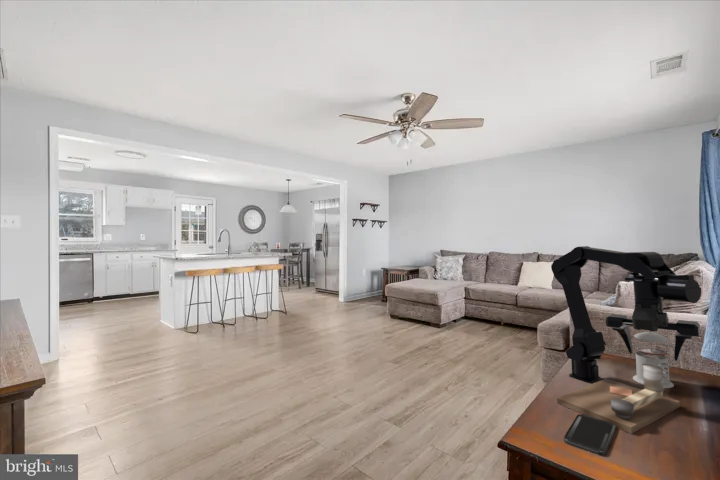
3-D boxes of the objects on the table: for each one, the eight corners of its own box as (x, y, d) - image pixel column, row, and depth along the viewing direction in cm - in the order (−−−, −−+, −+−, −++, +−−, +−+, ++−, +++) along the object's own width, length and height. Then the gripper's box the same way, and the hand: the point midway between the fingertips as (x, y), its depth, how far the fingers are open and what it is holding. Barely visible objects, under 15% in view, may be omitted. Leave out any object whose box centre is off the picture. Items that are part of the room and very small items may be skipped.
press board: (557, 403, 93) (556, 394, 93) (606, 383, 104) (606, 375, 104) (631, 434, 77) (630, 423, 77) (679, 406, 89) (679, 397, 89)
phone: (562, 438, 75) (578, 413, 86) (562, 444, 75) (578, 417, 86) (605, 453, 69) (616, 424, 80) (605, 459, 69) (616, 428, 80)
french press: (626, 374, 111) (623, 298, 111) (668, 376, 108) (665, 299, 108) (642, 386, 101) (638, 304, 102) (689, 389, 98) (685, 304, 98)
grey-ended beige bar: (628, 417, 79) (626, 384, 79) (607, 409, 83) (606, 378, 83) (667, 397, 88) (666, 367, 89) (647, 390, 92) (646, 362, 92)
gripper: (598, 299, 92) (602, 356, 91) (693, 305, 78) (699, 372, 77) (609, 294, 99) (613, 347, 99) (697, 299, 85) (703, 361, 85)
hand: (652, 356), depth 90 cm, fingers open, 9 cm apart
